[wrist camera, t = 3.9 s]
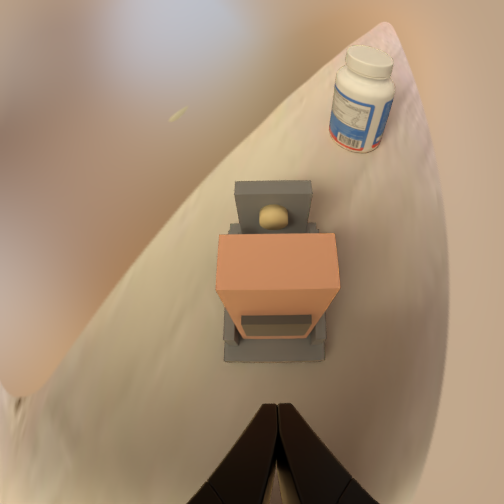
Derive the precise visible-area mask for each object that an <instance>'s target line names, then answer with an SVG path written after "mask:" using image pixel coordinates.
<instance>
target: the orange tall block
mask: <svg viewBox="0 0 504 504" xmlns="http://www.w3.org/2000/svg"><path fill="white" fill-rule="evenodd" d="M339 290H340V277H339V267H338V258H337V249H336V241H335V233H302V234H228V235H219V245H218V260H217V275H216V291H217V293H218V295H219V297H220V299H221V301H222V302H223V304H224V306H225V308H226V310H227V311H228V313H229V315H230V317H231V319H232V320H233V322H234V324H235V326H236V327H237V329H238V331H239V333H240V334H241V336H242V338H243V339H297V338H307V336H308V335H309V333H310V332H311V331H312V329H313V328H314V326H315V325H316V324H317V322H318V321H319V319H320V318H321V316H322V315H323V314H324V312H325V311H326V309H327V308H328V306H329V305H330V303H331V302H332V300H333V299H334V297H335V296H336V294H337V293H338V291H339Z"/></svg>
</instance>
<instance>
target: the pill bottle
mask: <svg viewBox="0 0 504 504" xmlns="http://www.w3.org/2000/svg"><path fill="white" fill-rule="evenodd" d="M345 62H346V65H345V66H343V67H341V68H340V69H339V70H338V72H337V74H336V80H335V87H334V96H333V104H332V111H331V119H330V125H329V131H330V135H331V137H332V139H333V140H334V141H335V142H336V143H337V144H338V145H339V146H341V147H342V148H344V149H347V150H349V151H353V152H358V153H365V152H370V151H372V150H374V149H375V148H377V146H378V145H379V143H380V140H381V137H382V134H383V131H384V128H385V125H386V122H387V119H388V116H389V112H390V109H391V105H392V102H393V98H394V94H395V85H394V82H393V81H392V79H391V78H390V76H391V73H392V69H393V64H394V61H393V59H392V58H391V57H390V56H389V55H388V54H387V53H385V52H383V51H381V50H379V49H376V48H374V47H370V46H364V45H354V46H350V47H349V48H348V49H347V54H346V59H345Z"/></svg>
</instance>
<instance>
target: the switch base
mask: <svg viewBox="0 0 504 504" xmlns="http://www.w3.org/2000/svg"><path fill="white" fill-rule="evenodd" d="M312 194H313V193H312V185H311V181H238V182H235V193H234V195H235V201H236V206H237V212H238V217H239V223H240V224H230V230H229V233H228V234H302V233H319V229H316V223H307V221H308V216H309V210H310V205H311V199H312ZM326 339H327V335H326V315H325V312H324V314H323V315H322V316H321V318H320V319H319V321H318V322H317V324H316V325H315V326H314V328H313V329H312V331H311V332H310V333H309V335H308V336H307V338H297V339H243V338H242V336H241V334H240V333H239V331H238V329H237V327H236V326H235V324H234V322H233V320H232V319H231V317H230V315H229V313H228V311H227V310H226V308H225V311H224V335H223V340H224V341H225V348H224V361H225V362H242V363H286V362H316V361H324V360H325V351H324V341H325V340H326Z"/></svg>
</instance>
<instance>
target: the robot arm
mask: <svg viewBox="0 0 504 504" xmlns="http://www.w3.org/2000/svg"><path fill="white" fill-rule="evenodd" d="M276 465H277V474H278V480H279V486H280V492H281V498H282V504H379V503H378V502H377V501H376V500H374V499H373V498H372V497H371V496H370V495H369V494H368V493H367V492H366V491H365V490H364V489H363V488H362V487H361V485H360V484H359V483H358V482H357V481H356V480H355V479H354V478H352V476H351V475H350V474H349V472H348V471H347V470H346V469H345V468H344V467H343V466H342V464H341V463H340V462H339V461H338V460H337V459H336V457H335V456H334V455H333V454H332V453H331V451H330V450H329V449H328V448H327V447H326V446H325V444H324V443H323V442H322V441H321V440H320V438H319V437H318V436H317V435H316V433H315V432H314V431H313V430H312V429H311V427H310V426H309V425H308V424H307V422H306V421H305V420H304V419H303V417H302V416H301V415H300V414H299V412H298V411H297V410H296V409H295V407H294V406H293V405H292V404H291V403H280V404H278V405H276V404H262V406H261V407H260V408H259V410H258V411H257V413H256V414H255V416H254V417H253V419H252V420H251V422H250V423H249V424H248V426H247V427H246V429H245V430H244V432H243V433H242V434H241V436H240V437H239V439H238V440H237V441H236V443H235V444H234V445H233V447H232V448H231V450H230V451H229V452H228V454H227V455H226V456H225V458H224V459H223V460H222V462H221V463H220V464H219V465H218V467H217V468H216V469H215V471H214V472H213V473H212V475H211V476H210V477H209V478H208V480H207V481H208V482H207V481H206V482H205V483H204V484H203V485H202V487H201V488H200V489H199V490H198V491H197V493H196V494H195V495H194V496H193V497H192V498H191V499H190V500H189V501H188V502H187V504H269V503H270V498H271V492H272V487H273V481H274V475H275V469H276Z"/></svg>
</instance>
